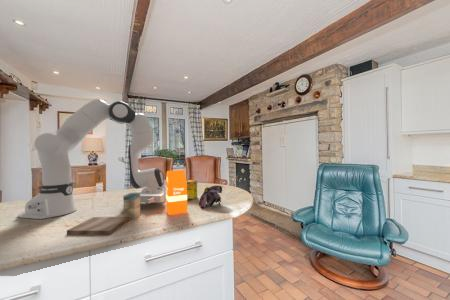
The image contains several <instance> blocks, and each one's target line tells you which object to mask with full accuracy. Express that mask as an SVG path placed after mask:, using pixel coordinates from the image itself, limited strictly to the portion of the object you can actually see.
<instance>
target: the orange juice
mask: <svg viewBox="0 0 450 300" xmlns="http://www.w3.org/2000/svg"><path fill="white" fill-rule="evenodd" d="M187 181H188V180H187V176H186V170H185V169H178V170H176V169H175V170H167V171H166V178H165V201H166V207H165V208H166V213H167V214H168V216H172V215H173V216H174V215H178V214H186V213H188V200H187Z"/></svg>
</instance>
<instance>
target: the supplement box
mask: <svg viewBox="0 0 450 300" xmlns="http://www.w3.org/2000/svg"><path fill="white" fill-rule="evenodd" d="M186 181H187V201H196V199H197V198H198V180H197V179H188V180H186Z"/></svg>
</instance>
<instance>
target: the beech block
mask: <svg viewBox="0 0 450 300" xmlns="http://www.w3.org/2000/svg"><path fill="white" fill-rule="evenodd" d="M127 194H128V195H126V194H125V195H126V196H124V195H123V196H122V197H124V201H123V217H129V220H136V219H138V218H139V217H140V216H141V203H140V194H129V193H127Z"/></svg>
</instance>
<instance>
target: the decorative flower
mask: <svg viewBox="0 0 450 300" xmlns="http://www.w3.org/2000/svg"><path fill="white" fill-rule="evenodd" d="M222 191H223V186H222V185H211V186H209V187H205V188H204V191H203V193H202V194H201V196H200V198H199V200H198V201H199V202H198V205H199V206H200V208H201V209H202V210H203V209H206V206H208V207H212V206H214V204H215V203H216V204H217V203H218V205H219V206H220V205H221V203H222V198H221V195H220V194H223V192H222ZM199 206H198V207H199Z"/></svg>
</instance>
